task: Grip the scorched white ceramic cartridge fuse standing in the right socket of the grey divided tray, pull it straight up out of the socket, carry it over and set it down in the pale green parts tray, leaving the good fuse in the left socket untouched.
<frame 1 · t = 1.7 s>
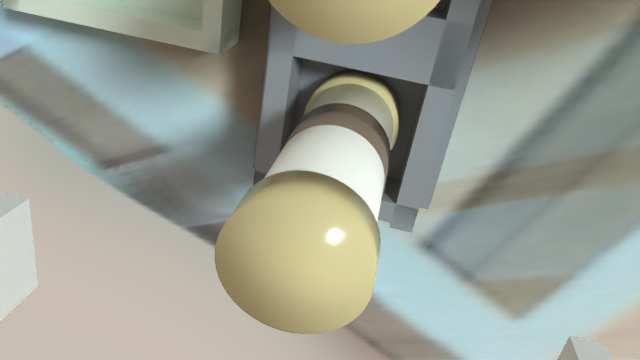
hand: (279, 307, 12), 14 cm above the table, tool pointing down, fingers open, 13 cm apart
grey divided tray: (373, 24, 22), on the table
blown fuse: (354, 113, 24), resting on grey divided tray
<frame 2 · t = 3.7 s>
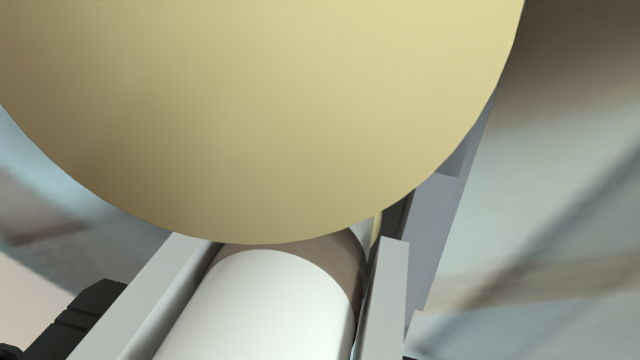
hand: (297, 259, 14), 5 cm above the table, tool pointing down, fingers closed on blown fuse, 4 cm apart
grey divided tray: (347, 77, 17), on the table
blown fuse: (324, 191, 18), point 1 cm above the table, touching grey divided tray, gripper
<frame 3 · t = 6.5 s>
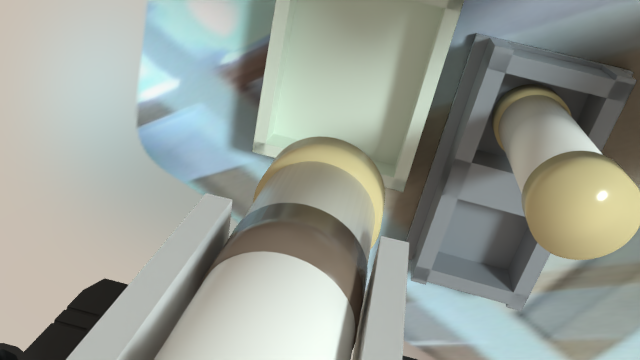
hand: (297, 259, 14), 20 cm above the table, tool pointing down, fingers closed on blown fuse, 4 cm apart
parts tray: (353, 71, 32), on the table
good fuse: (527, 118, 31), resting on grey divided tray
grey divided tray: (502, 172, 33), on the table
blown fuse: (324, 192, 18), point 16 cm above the table, touching gripper
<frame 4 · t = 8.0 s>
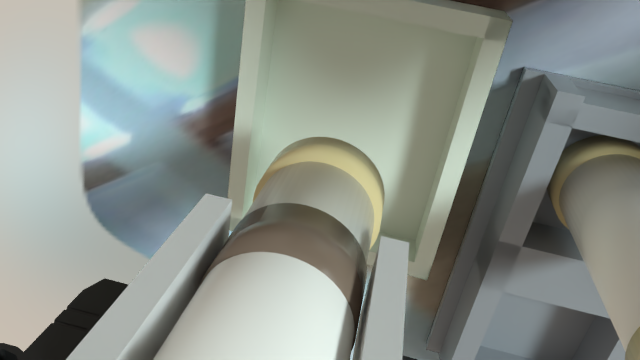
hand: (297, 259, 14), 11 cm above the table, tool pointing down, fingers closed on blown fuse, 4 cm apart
parts tray: (354, 121, 24), on the table
good fuse: (597, 179, 23), resting on grey divided tray
grey divided tray: (560, 247, 25), on the table
blown fuse: (324, 193, 18), point 7 cm above the table, touching gripper
when the fingers open (7 cm above the table, at t = 9.4 s): blown fuse drops 2 cm, resting on parts tray.
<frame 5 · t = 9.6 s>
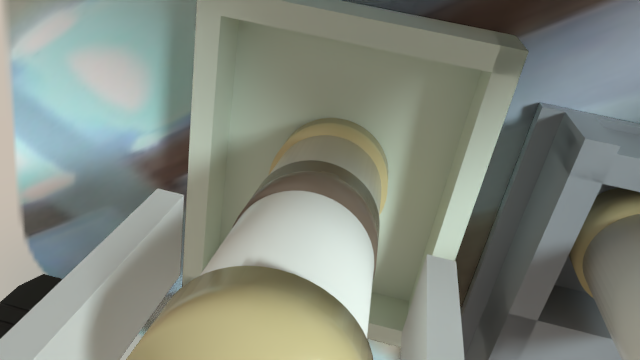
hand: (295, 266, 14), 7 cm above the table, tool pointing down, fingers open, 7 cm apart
parts tray: (335, 163, 20), on the table
good fuse: (627, 236, 19), resting on grey divided tray
grey divided tray: (580, 311, 21), on the table
blown fuse: (332, 172, 19), point 1 cm above the table, tilted 5°, touching parts tray
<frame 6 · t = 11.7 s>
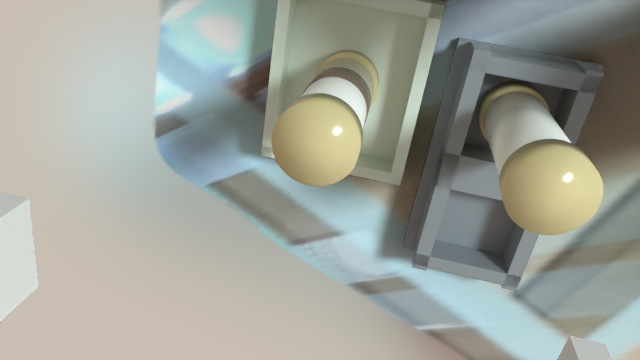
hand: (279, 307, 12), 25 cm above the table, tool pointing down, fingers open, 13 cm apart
parts tray: (349, 78, 36), on the table
good fuse: (510, 112, 34), resting on grey divided tray
grey divided tray: (491, 163, 36), on the table
blown fuse: (348, 80, 35), point 1 cm above the table, touching parts tray
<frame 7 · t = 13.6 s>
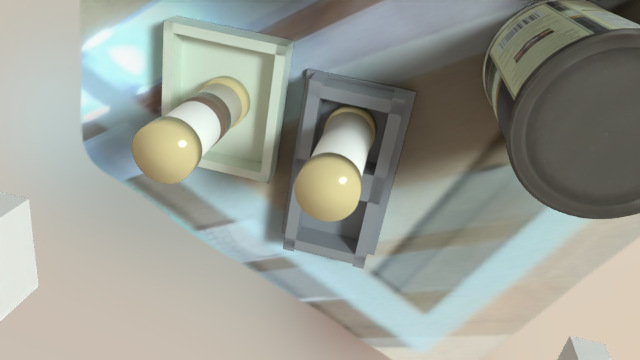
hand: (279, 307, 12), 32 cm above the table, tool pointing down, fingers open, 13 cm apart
coffee can: (552, 67, 39), on the table
parts tray: (229, 97, 45), on the table
good fuse: (351, 127, 43), resting on grey divided tray
grey divided tray: (343, 166, 46), on the table
blown fuse: (226, 99, 44), point 1 cm above the table, touching parts tray
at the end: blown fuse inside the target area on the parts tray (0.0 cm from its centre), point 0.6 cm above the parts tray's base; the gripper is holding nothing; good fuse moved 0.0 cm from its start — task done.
